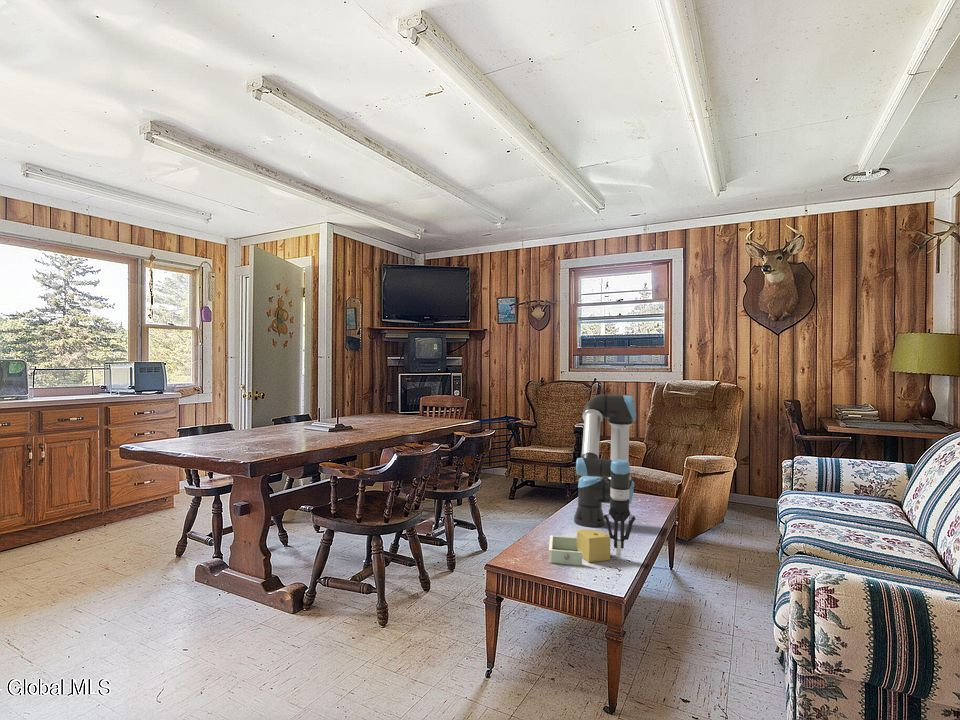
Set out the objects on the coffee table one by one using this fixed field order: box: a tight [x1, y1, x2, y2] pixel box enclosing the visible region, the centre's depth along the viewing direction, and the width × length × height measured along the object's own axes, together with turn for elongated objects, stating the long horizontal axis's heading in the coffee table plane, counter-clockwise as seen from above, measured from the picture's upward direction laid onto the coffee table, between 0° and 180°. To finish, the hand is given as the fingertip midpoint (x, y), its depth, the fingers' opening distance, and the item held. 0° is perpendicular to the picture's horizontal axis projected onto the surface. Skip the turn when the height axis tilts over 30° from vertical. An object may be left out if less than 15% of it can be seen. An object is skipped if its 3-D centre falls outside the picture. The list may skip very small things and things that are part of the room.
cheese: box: [576, 528, 611, 563], centre depth 211 cm, size 10×11×10 cm
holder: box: [548, 534, 583, 566], centre depth 212 cm, size 19×13×5 cm
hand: (618, 555), depth 209 cm, fingers closed
